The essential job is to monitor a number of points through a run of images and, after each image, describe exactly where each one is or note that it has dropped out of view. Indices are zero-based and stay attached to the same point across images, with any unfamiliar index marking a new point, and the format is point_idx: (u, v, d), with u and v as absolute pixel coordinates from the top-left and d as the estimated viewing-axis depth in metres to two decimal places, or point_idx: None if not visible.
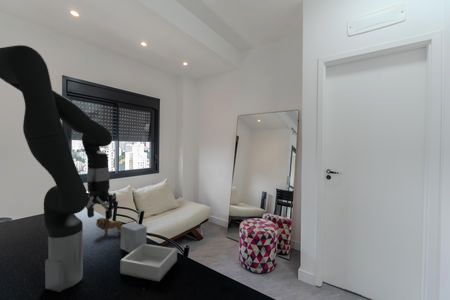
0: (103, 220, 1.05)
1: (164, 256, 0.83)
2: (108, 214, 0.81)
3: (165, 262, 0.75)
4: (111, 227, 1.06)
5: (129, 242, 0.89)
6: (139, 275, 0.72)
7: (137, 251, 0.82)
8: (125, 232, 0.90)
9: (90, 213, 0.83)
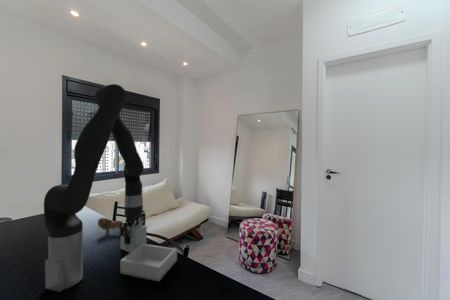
0: (105, 220, 1.05)
1: (164, 256, 0.83)
2: None
3: (165, 262, 0.75)
4: (113, 227, 1.06)
5: None
6: (139, 275, 0.72)
7: (137, 251, 0.82)
8: None
9: None
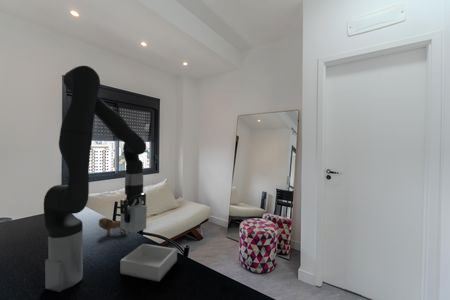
0: (106, 220, 1.05)
1: (164, 256, 0.83)
2: None
3: (165, 262, 0.75)
4: (114, 227, 1.06)
5: None
6: (139, 275, 0.72)
7: (137, 251, 0.82)
8: None
9: None
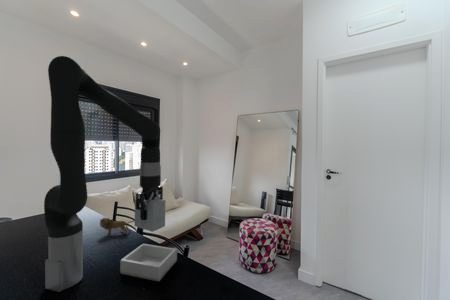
0: (107, 220, 1.05)
1: (164, 256, 0.83)
2: None
3: (165, 262, 0.75)
4: (115, 227, 1.06)
5: None
6: (139, 275, 0.72)
7: (137, 251, 0.82)
8: None
9: None
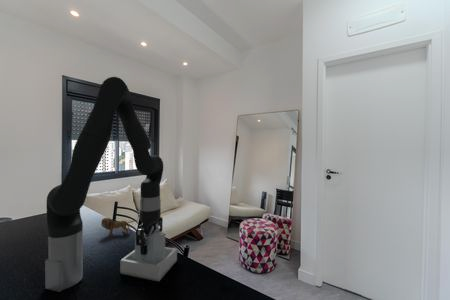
0: (108, 220, 1.05)
1: None
2: None
3: (165, 262, 0.75)
4: (116, 227, 1.06)
5: None
6: (139, 275, 0.72)
7: None
8: None
9: None
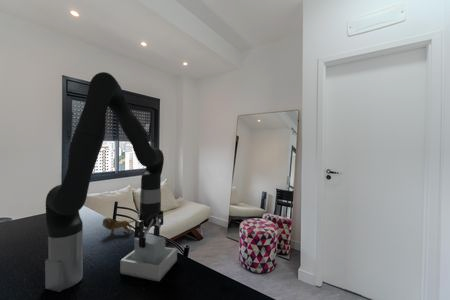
0: (109, 220, 1.05)
1: None
2: (159, 231, 0.82)
3: (165, 262, 0.75)
4: (118, 227, 1.06)
5: (146, 258, 0.75)
6: (139, 275, 0.72)
7: None
8: None
9: None
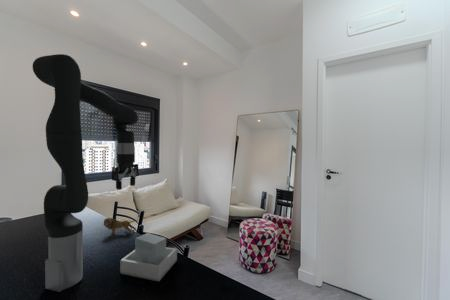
0: (111, 220, 1.05)
1: None
2: (134, 180, 0.99)
3: (165, 262, 0.75)
4: (119, 227, 1.06)
5: (147, 258, 0.75)
6: (139, 275, 0.72)
7: None
8: (142, 246, 0.77)
9: None
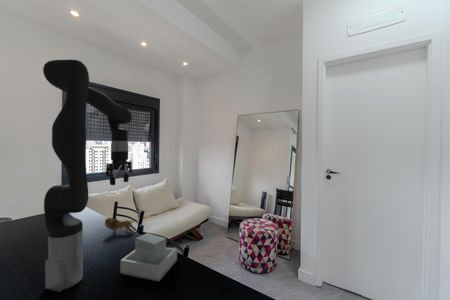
0: (112, 220, 1.05)
1: None
2: (128, 177, 1.04)
3: (165, 262, 0.75)
4: (120, 226, 1.06)
5: (147, 258, 0.75)
6: (139, 275, 0.72)
7: None
8: (142, 246, 0.77)
9: None
